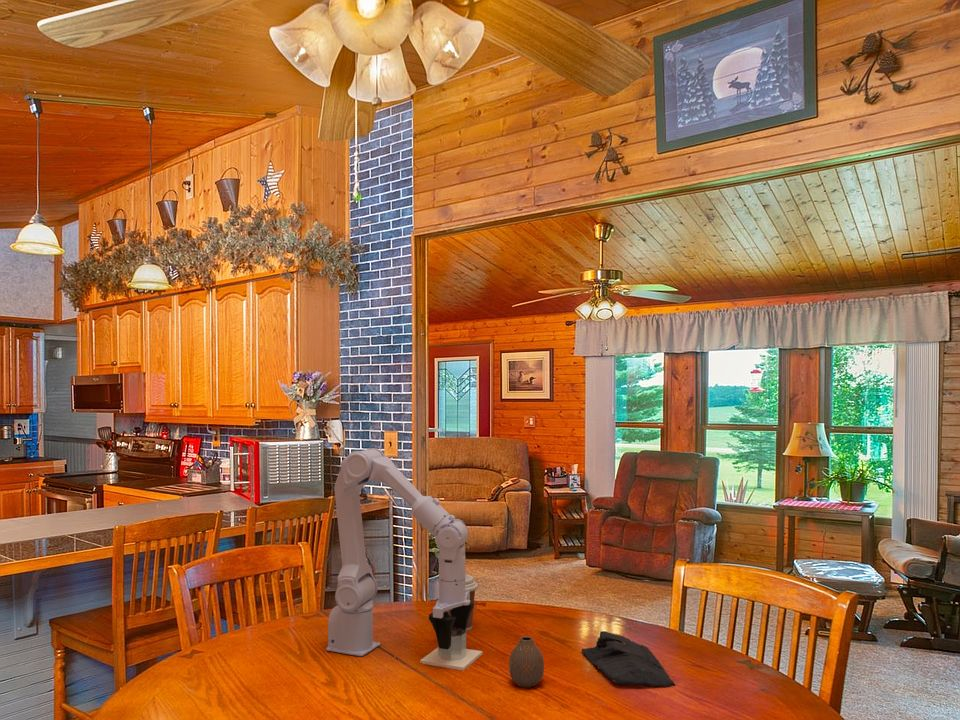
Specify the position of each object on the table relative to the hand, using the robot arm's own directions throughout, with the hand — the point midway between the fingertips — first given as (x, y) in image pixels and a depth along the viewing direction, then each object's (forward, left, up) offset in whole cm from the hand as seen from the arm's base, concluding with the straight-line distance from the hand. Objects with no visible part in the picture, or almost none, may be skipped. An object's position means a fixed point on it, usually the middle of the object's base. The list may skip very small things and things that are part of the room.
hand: (451, 642), depth 156 cm
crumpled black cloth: (+35, +10, -4) cm, 37 cm away
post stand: (0, 0, -3) cm, 3 cm away
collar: (0, 0, -3) cm, 3 cm away
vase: (+19, -6, -4) cm, 20 cm away
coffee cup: (-7, +19, -4) cm, 21 cm away
